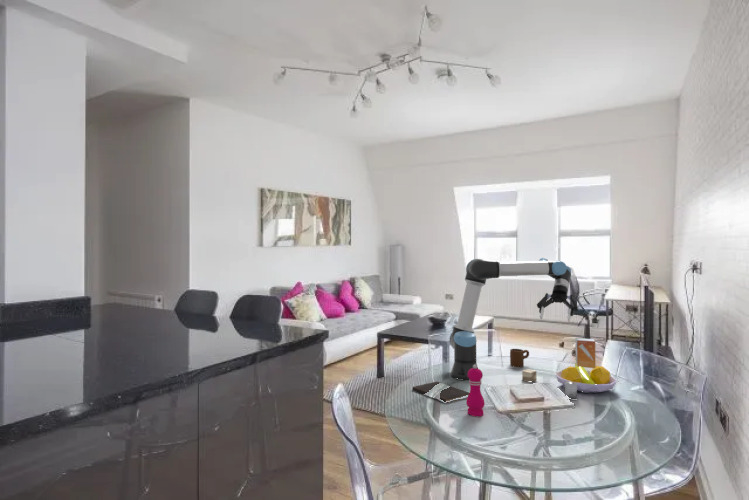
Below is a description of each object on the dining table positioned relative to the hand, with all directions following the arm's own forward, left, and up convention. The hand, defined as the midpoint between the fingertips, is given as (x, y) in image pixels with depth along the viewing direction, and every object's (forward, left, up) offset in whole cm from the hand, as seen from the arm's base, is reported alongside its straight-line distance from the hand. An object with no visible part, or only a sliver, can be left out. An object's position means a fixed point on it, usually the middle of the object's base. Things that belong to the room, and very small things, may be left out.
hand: (554, 318), depth 218 cm
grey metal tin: (-13, -26, -32) cm, 43 cm away
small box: (+5, -15, -21) cm, 27 cm away
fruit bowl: (+5, -15, -32) cm, 36 cm away
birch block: (-13, +4, -32) cm, 35 cm away
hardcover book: (-66, -3, -33) cm, 74 cm away
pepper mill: (-64, -31, -32) cm, 78 cm away
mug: (+1, +32, -32) cm, 45 cm away
